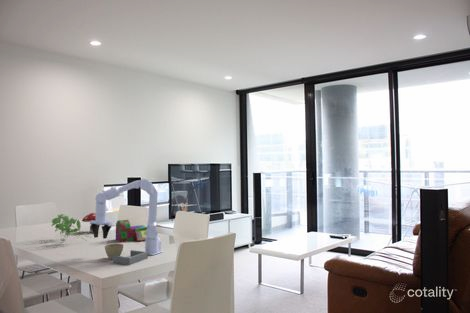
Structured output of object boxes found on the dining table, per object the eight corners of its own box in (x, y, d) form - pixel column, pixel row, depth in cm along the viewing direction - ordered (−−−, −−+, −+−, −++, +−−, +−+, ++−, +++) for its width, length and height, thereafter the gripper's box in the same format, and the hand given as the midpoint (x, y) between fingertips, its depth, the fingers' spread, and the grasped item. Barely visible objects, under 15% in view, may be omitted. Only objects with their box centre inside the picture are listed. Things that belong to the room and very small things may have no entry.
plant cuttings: (67, 246, 266) (40, 230, 255) (82, 226, 274) (57, 209, 262) (84, 255, 240) (56, 237, 229) (101, 232, 248) (73, 214, 236)
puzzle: (123, 244, 245) (124, 222, 245) (115, 239, 258) (115, 219, 259) (159, 240, 259) (159, 219, 260) (149, 236, 273) (149, 216, 273)
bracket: (131, 256, 211) (131, 250, 211) (147, 258, 206) (147, 252, 206) (112, 262, 197) (113, 255, 197) (129, 264, 192) (129, 258, 193)
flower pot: (115, 261, 200) (115, 247, 200) (100, 259, 203) (100, 246, 204) (127, 257, 209) (127, 244, 209) (112, 255, 213) (113, 242, 213)
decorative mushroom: (77, 233, 281) (77, 213, 281) (91, 230, 296) (91, 211, 296) (94, 234, 276) (95, 214, 276) (108, 231, 291) (108, 212, 292)
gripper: (85, 213, 210) (85, 238, 210) (105, 215, 204) (105, 240, 204) (95, 212, 217) (94, 235, 216) (114, 214, 211) (114, 238, 210)
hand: (100, 237), depth 210 cm, fingers open, 6 cm apart
